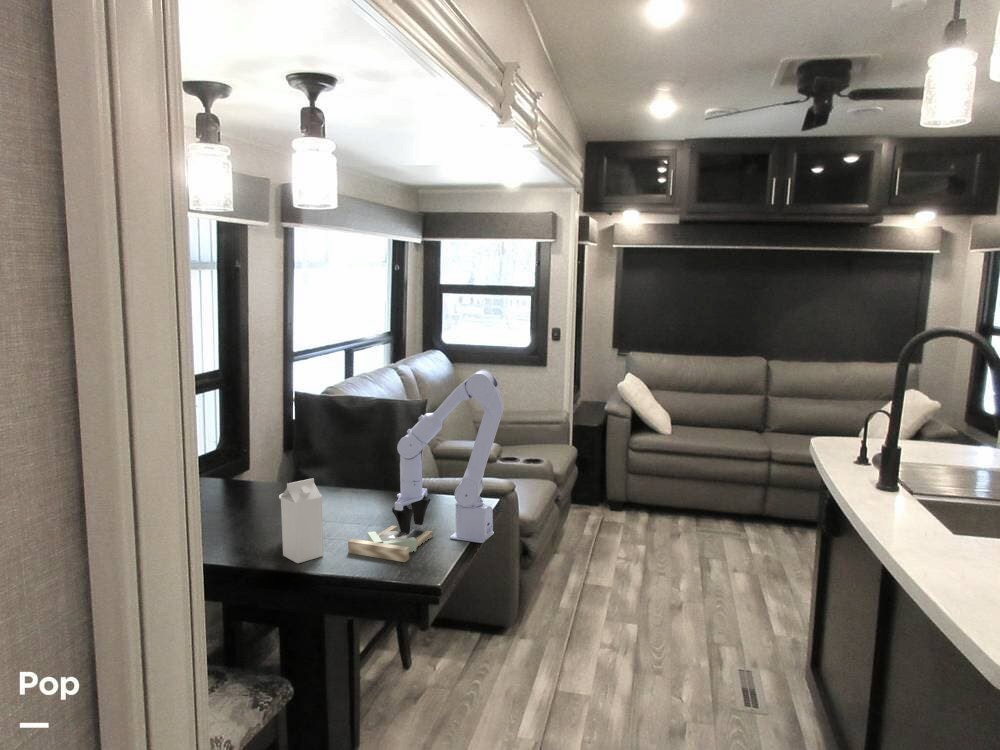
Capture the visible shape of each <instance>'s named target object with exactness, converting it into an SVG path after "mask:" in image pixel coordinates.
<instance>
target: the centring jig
mask: <svg viewBox="0 0 1000 750" xmlns="http://www.w3.org/2000/svg"><path fill="white" fill-rule="evenodd" d="M389 531H398V525H391V526H388V527H387V528H386V529H384V530H382V531H380V532H379V533H377V532H376V531H368V532H366V533H367V534H366V535H367V540H363V539H358V538H357V539H356V538H351V539H349V540H348V541H347V547H348V548H347V551H348V553H349V554H352V555H359V556H365V557H370V558H377V559H383V560H389V561H396V562H401V563H402V562H403V563H406V562H408V561H409V560H410V553H413V551H414V552H417V549H418V548H419V547H420V546H422V545H423V544H424V543H426V542H427V541H428V539H429V540H430V539H431V538H433V530H426V531H424V532H422V533H421V534H420V535H418V536H417V537H414V536H412V537H407V538H404V539H397V540H390V541H382V540H381V539H380V537H379V535H380V534H382V533H385V532H389ZM425 541H426V542H425ZM422 543H423V544H422ZM421 544H422V545H421ZM418 546H419V547H418Z"/></svg>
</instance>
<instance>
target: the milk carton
mask: <svg viewBox="0 0 1000 750" xmlns="http://www.w3.org/2000/svg"><path fill="white" fill-rule="evenodd" d="M282 494H283V495H282V496H281V500H280V510H281V511H280V512H281V513H280V514H281V532H282V533H281V534H282V538H281V539H282V556H283V557H285V558H287V559H289V560H290V561H293V562H294V563H295V564H300V563H304V562H307V561H311V560H313V559H317V558H321V557H324V534H323V533H324V532H323V531H324V528H323V503H322V502H323V501H322V500H323V498H322V497H321V495H322V494H321V492H320V491H319V489H318V487H317V486H316V484H315V479H314V477H313V478H308V479H304V480H303V479H302V480H298V481H293V482H289V483H288V482H287V483H286V489H285V490H284V492H283V493H282ZM320 494H321V495H320Z"/></svg>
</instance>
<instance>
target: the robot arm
mask: <svg viewBox="0 0 1000 750" xmlns="http://www.w3.org/2000/svg"><path fill="white" fill-rule="evenodd" d="M499 385H500V384H499V381H498V380H497V378H496V377H495V375H494V374H493V373H492V372H491V371H489V370H487V369H480V370H479V369H478V370H477V371H474V373H473V374H472V375H470V376H469V377H468V378H467V379H465V380H464V381H463V382H462V383H459V385H458V386H457V387H455V388H454V390H452V391H451V392H450V394H449V395H448V396H447V397H446V398H445V399H444V400H443V401H442V403H440V405H439V406H438V407H437V408H436V410H435V411H434V412H427V413H425V414H424V415H423V414H420V416H419V417H418V418H417V419H418V421H417V423H415V424H414V426H413V427H412V428H408V429H407V431H406V433H407V434H406V435H405V436H403V437H401V438H400V440H399V441H398V443H397V447H396V448H397V449H396V450H397V453H398V454H399V456H400V457H399V458H400V459H399V461H400V462H399V470H400V471H399V475H400V476H399V477H400V478H399V481H400V482H399V483H400V492H399V493H397V494H396V497H397V498H398V499H397V501H395V502H394V506H393V507H392V508H391V511H392V513H393V515H394V516H395V518H396V521H397V523H398V526H399V531H400V532H404V533H406V534H407V535H410V531H411V521H412V517H413V522H414V525H417V526H418V525H419V526H422V525H424V519H425V515H426V511H427V509H428V506H429V504H430V503H431V497H429V496H428V488H424V487H423V465H422V464H423V461H422V451H423V449H424V447H425V446H426V445H428V444H429V442H431V440H433V438H435V436H436V435H438V433H439V432H441V430H442V429H443V421H444V419H445V418H446V417H447V416H449V414H451V412H452V411H453V410H454V409H456V407H457V406H459V405H460V403H461V402H463V401H469V400H471V399H472V398H473V399H474V400H475V401H477V402H478V403H479V405H480V407H481V409H482V410H483V415H482V419H481V422H480V424H479V427H478V431H477V433H476V437H475V440H474V443H473V447H472V451H471V453H470V457H469V461H468V463H467V466H466V469H465V471H464V475H463V477H462V478H461V480H460V482H459V485H457V486H456V488H455V490H454V494H453V495H454V499H455V532H454V533H453V534H451V535H450V536H449V539H452V540H457V541H464V542H472V543H478V544H483V543H485V542H486V541H487V540H488V539H489V538H491V536H493V535H494V534H495V532H494V527H493V526H494V519H493V518H494V513H493V507H492V506H491V505H487V504H485V503H484V500H483V499H482V497H481V496H480V495H481V493H482V492H483V491H484V481H483V478H484V476H485V475H484V474H485V470H486V466H487V463H488V461H489V460H488V459H489V457H490V455H491V454H490V453H491V451H492V448H493V445H494V442H495V438H496V435H497V432H498V428H499V425H500V422H501V419H502V417H503V413H504V409H505V405H504V400H503V398H502V394H501V389H500V386H499ZM427 496H428V497H427ZM409 505H411V508H409V507H408V506H409Z"/></svg>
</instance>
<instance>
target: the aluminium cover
mask: <svg viewBox="0 0 1000 750" xmlns="http://www.w3.org/2000/svg"><path fill="white" fill-rule="evenodd" d="M379 537H380V539H381V540H382V541H390V540H397V539H404V538H408V534H406V533H404V532H401V531H400V530H399V531H398V530H397V531H389V532H385V533H382V534H380V535H379Z"/></svg>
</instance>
